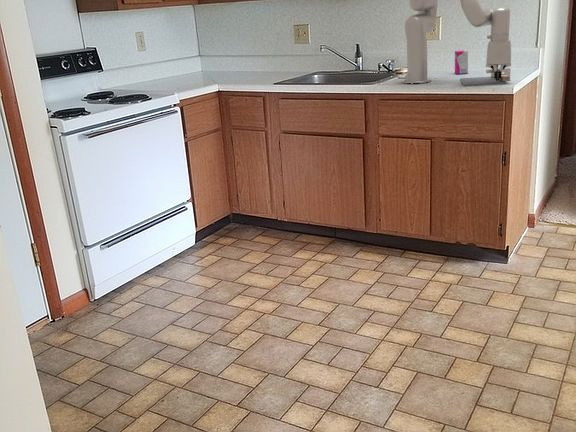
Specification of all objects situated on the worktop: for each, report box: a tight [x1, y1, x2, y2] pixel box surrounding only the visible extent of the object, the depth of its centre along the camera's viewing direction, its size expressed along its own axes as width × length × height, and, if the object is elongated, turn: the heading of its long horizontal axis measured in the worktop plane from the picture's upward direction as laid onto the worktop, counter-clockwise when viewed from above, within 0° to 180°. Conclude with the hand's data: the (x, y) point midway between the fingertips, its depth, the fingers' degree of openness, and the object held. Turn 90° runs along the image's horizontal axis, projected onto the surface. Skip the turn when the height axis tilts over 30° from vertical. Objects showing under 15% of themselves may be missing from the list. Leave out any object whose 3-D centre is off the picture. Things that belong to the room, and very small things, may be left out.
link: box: [490, 65, 511, 82], centre depth 281 cm, size 18×4×6 cm, turn 178°
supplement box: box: [454, 49, 469, 76], centre depth 314 cm, size 6×6×12 cm
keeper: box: [485, 67, 511, 77], centre depth 282 cm, size 10×2×5 cm, turn 79°
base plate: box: [459, 76, 507, 87], centre depth 284 cm, size 18×20×1 cm
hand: (497, 80), depth 275 cm, fingers closed
